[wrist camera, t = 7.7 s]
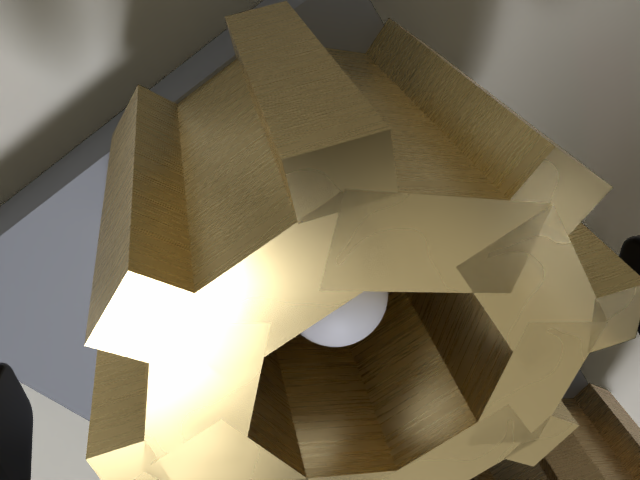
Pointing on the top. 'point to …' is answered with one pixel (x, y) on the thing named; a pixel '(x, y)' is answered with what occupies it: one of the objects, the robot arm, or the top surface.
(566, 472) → the seated gear
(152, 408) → the planet gear
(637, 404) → the top surface
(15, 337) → the plate
